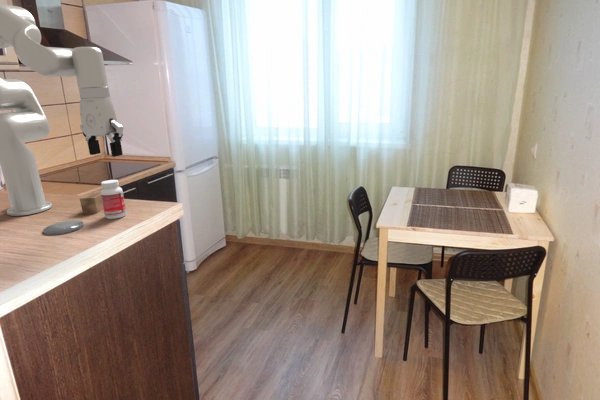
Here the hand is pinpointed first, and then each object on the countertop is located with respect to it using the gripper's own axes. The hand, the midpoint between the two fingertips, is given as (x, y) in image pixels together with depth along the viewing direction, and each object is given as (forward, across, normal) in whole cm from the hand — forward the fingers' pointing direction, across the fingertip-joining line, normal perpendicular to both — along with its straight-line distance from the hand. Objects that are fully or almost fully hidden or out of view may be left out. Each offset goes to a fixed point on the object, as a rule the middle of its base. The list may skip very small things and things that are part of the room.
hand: (106, 154), depth 117 cm
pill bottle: (+20, -1, 0) cm, 20 cm away
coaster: (+19, -7, -13) cm, 24 cm away
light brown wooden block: (+19, -14, +2) cm, 24 cm away
